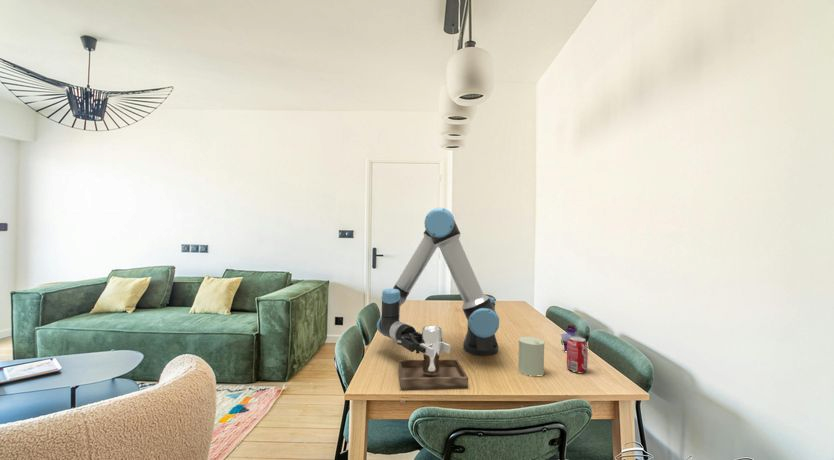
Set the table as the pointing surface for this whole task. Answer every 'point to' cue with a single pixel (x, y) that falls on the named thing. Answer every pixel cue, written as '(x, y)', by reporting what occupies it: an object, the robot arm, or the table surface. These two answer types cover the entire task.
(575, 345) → the soda can
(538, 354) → the can
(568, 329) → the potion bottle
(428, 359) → the beer glass
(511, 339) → the table surface
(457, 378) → the walnut tray
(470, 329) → the robot arm
